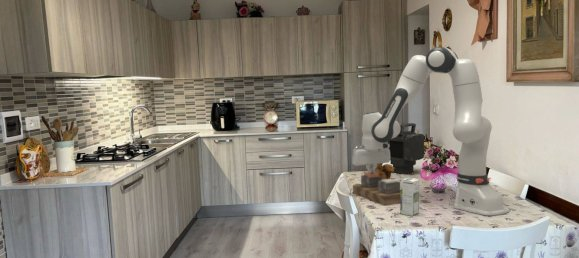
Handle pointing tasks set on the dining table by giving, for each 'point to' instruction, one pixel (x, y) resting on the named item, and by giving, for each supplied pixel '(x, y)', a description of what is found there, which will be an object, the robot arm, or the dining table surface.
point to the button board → (378, 190)
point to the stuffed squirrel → (384, 170)
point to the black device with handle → (406, 149)
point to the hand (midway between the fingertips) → (371, 173)
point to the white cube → (389, 181)
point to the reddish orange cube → (371, 175)
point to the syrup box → (409, 196)
